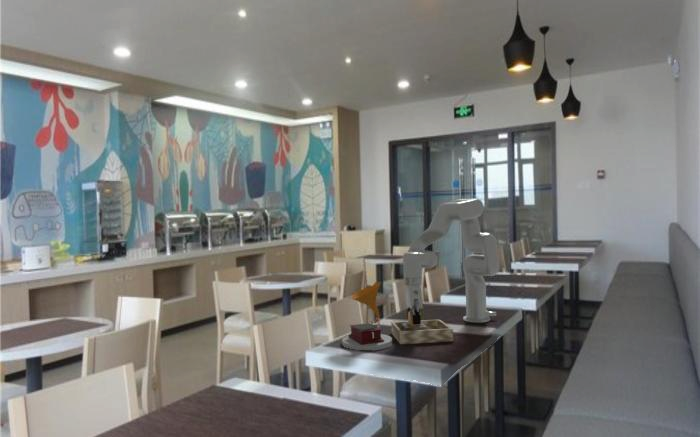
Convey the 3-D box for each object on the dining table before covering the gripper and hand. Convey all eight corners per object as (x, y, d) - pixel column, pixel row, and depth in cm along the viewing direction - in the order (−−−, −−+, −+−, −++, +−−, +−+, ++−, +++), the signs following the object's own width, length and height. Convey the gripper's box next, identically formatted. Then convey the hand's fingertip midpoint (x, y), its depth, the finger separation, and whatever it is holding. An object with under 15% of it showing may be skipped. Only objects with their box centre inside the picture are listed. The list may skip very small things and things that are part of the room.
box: (440, 330, 217) (439, 319, 217) (453, 341, 199) (452, 328, 199) (391, 333, 214) (391, 322, 214) (400, 344, 197) (400, 331, 196)
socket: (421, 332, 211) (421, 322, 211) (427, 337, 202) (427, 326, 202) (401, 333, 210) (401, 323, 210) (406, 338, 201) (406, 328, 201)
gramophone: (379, 335, 212) (377, 278, 212) (401, 346, 193) (399, 284, 193) (335, 341, 205) (333, 281, 205) (353, 353, 186) (351, 288, 186)
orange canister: (417, 334, 209) (416, 308, 208) (420, 336, 205) (419, 310, 204) (408, 334, 208) (407, 309, 208) (410, 337, 204) (410, 311, 204)
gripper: (426, 283, 198) (428, 325, 198) (416, 278, 215) (417, 316, 215) (408, 284, 197) (410, 326, 197) (399, 279, 214) (400, 317, 215)
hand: (413, 321), depth 206 cm, fingers open, 9 cm apart
